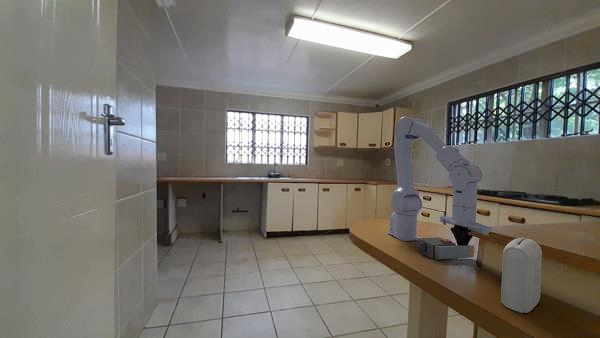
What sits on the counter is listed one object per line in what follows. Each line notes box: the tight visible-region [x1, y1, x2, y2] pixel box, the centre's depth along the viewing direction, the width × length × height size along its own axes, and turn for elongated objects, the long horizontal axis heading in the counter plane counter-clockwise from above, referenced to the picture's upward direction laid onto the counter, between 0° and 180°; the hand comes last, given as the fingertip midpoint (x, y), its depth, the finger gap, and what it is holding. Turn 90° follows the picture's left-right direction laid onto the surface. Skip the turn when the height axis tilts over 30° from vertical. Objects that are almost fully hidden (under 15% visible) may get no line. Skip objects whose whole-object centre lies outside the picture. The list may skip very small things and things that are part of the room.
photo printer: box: [500, 237, 543, 314], centre depth 44 cm, size 10×4×12 cm, turn 123°
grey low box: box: [416, 236, 457, 260], centre depth 68 cm, size 6×9×5 cm, turn 103°
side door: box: [434, 244, 475, 261], centre depth 65 cm, size 1×12×4 cm, turn 100°
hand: (462, 252), depth 66 cm, fingers closed
